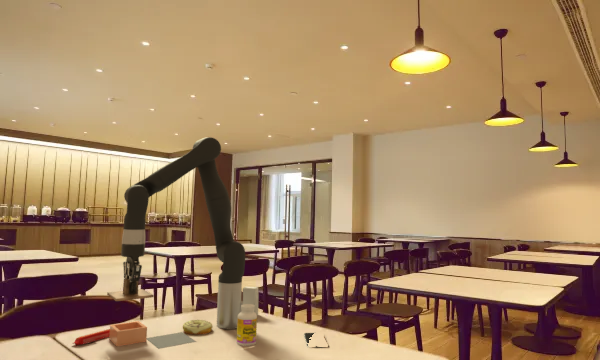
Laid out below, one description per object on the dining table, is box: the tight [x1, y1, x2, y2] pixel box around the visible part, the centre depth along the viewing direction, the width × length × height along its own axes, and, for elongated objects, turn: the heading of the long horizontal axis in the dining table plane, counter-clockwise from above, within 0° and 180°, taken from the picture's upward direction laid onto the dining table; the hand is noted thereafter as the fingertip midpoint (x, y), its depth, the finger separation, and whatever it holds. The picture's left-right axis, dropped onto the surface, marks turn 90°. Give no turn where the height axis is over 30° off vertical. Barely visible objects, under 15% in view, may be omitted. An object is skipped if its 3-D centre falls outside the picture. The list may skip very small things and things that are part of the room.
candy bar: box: [72, 328, 110, 346], centre depth 137 cm, size 16×4×3 cm, turn 152°
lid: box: [106, 278, 155, 302], centre depth 138 cm, size 12×12×6 cm
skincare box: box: [242, 285, 259, 316], centre depth 175 cm, size 6×4×12 cm
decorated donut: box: [182, 319, 214, 335], centre depth 149 cm, size 10×11×4 cm
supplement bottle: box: [236, 304, 258, 347], centre depth 137 cm, size 7×7×13 cm
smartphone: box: [303, 332, 315, 347], centre depth 141 cm, size 7×1×15 cm
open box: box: [108, 320, 148, 347], centre depth 136 cm, size 10×10×5 cm
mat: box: [146, 331, 197, 350], centre depth 137 cm, size 13×13×1 cm
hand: (130, 292), depth 138 cm, fingers closed on lid, 3 cm apart
